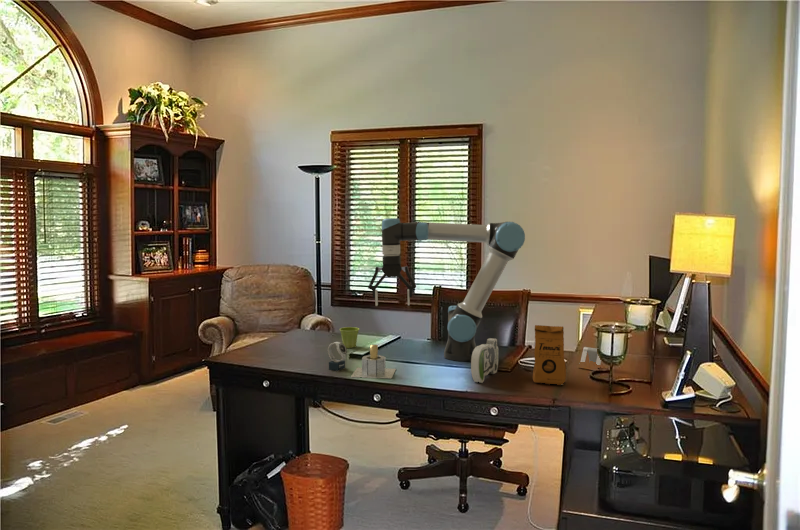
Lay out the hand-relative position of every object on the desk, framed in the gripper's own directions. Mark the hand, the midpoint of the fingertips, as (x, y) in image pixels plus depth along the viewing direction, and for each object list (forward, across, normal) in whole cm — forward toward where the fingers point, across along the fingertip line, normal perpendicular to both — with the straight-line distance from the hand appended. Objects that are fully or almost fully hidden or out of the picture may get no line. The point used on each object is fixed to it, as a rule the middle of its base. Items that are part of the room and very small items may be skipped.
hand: (392, 305), depth 266 cm
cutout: (+26, +37, -21) cm, 50 cm away
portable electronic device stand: (+27, +82, -3) cm, 87 cm away
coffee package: (+27, +61, -26) cm, 71 cm away
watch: (+24, -23, -12) cm, 35 cm away
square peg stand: (+25, -7, -18) cm, 31 cm away
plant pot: (+24, -23, +30) cm, 45 cm away
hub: (+24, -7, -17) cm, 31 cm away
